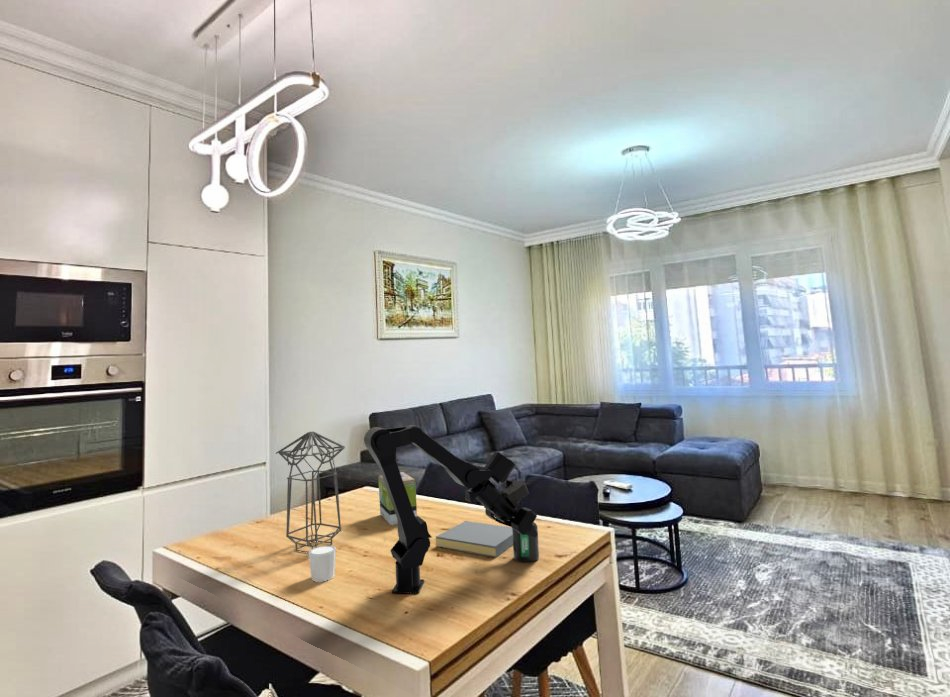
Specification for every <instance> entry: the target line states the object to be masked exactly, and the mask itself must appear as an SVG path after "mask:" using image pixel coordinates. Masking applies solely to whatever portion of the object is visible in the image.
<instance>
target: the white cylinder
mask: <svg viewBox="0 0 950 697" xmlns="http://www.w3.org/2000/svg"><path fill="white" fill-rule="evenodd" d="M308 551H309V553H307V554H308V560H309V569H310V575H311V581H312V580H313V581H315V582H314V583H324V582H323V581H325V582H328V581H330V579H331V580H332V578H333V577H335V572H336V568H335V567H336V554H337V553H336V552H337V547H336V546H333V545H330V546H327V545H322V546H321V545H320V546H317V547H316V546H315V547H313V549H312V548H311V549H310V550H308ZM333 579H334V578H333ZM327 580H328V581H327ZM313 581H312V582H313Z"/></svg>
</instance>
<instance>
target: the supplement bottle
mask: <svg viewBox="0 0 950 697" xmlns="http://www.w3.org/2000/svg"><path fill="white" fill-rule="evenodd" d="M532 524H533V526H534V528H535V529H536V531H537V533H538V532H539V530H538V529H539V528H538V525H537V523H536V522H535V521H534V522H533V523H532ZM512 533H513V545H512V547H513V548H512V550H513V558H514V560H515V561H517V562H520V563H524V562H528V563H534V562H536V561H538V559H539V558H540V557H539V556H540V551H539V550H540V548H539V535H538V536H537V537H536V538H535V537H531V536H528V535H522V534H519V533H518V532H516V531H515V530H514V529H513V528H512ZM538 534H539V533H538ZM535 560H536V561H535ZM533 561H534V562H533Z"/></svg>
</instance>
